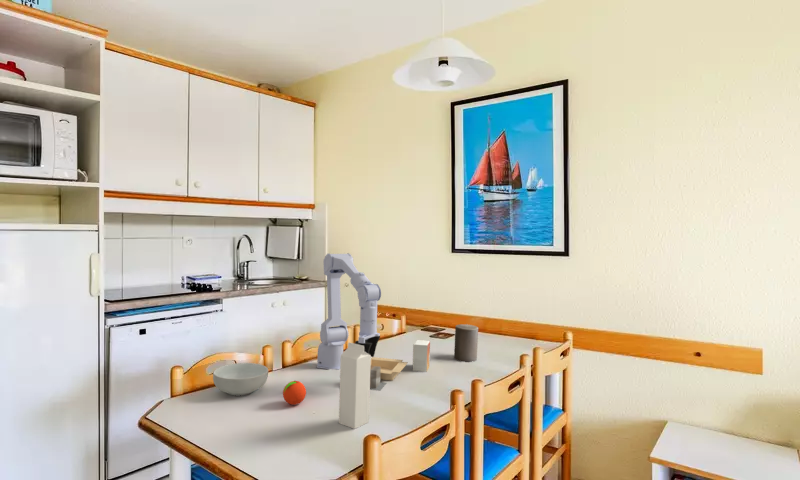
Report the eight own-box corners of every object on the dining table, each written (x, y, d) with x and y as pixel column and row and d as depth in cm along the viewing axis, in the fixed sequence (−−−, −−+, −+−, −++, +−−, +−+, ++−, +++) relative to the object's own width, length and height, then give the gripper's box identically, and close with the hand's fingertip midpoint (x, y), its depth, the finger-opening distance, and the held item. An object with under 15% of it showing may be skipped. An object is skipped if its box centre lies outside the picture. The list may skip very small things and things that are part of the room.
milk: (353, 417, 135) (355, 340, 134) (369, 422, 131) (371, 343, 131) (338, 423, 130) (340, 343, 129) (354, 429, 126) (357, 347, 126)
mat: (346, 387, 159) (346, 386, 159) (354, 380, 166) (354, 379, 166) (380, 391, 156) (380, 390, 156) (386, 384, 163) (386, 383, 163)
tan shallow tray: (350, 379, 168) (350, 369, 168) (366, 365, 185) (366, 356, 185) (397, 384, 163) (397, 374, 163) (408, 369, 181) (409, 360, 181)
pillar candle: (451, 360, 196) (452, 324, 196) (457, 354, 205) (458, 320, 205) (474, 363, 192) (475, 327, 192) (479, 357, 202) (481, 322, 201)
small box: (426, 373, 177) (427, 345, 177) (412, 371, 179) (413, 344, 178) (429, 367, 185) (430, 340, 185) (415, 365, 186) (416, 339, 186)
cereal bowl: (215, 404, 141) (216, 380, 141) (210, 387, 156) (210, 365, 156) (272, 396, 149) (273, 374, 149) (262, 380, 164) (262, 360, 164)
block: (353, 385, 159) (353, 368, 159) (358, 381, 164) (358, 364, 164) (376, 388, 158) (376, 370, 157) (380, 383, 162) (380, 366, 162)
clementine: (291, 411, 137) (292, 387, 137) (274, 406, 141) (275, 382, 141) (310, 403, 144) (311, 380, 144) (294, 398, 148) (294, 375, 148)
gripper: (373, 325, 152) (372, 366, 153) (385, 317, 167) (384, 355, 167) (352, 323, 154) (351, 364, 155) (366, 315, 168) (365, 353, 169)
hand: (367, 359), depth 161 cm, fingers open, 7 cm apart
